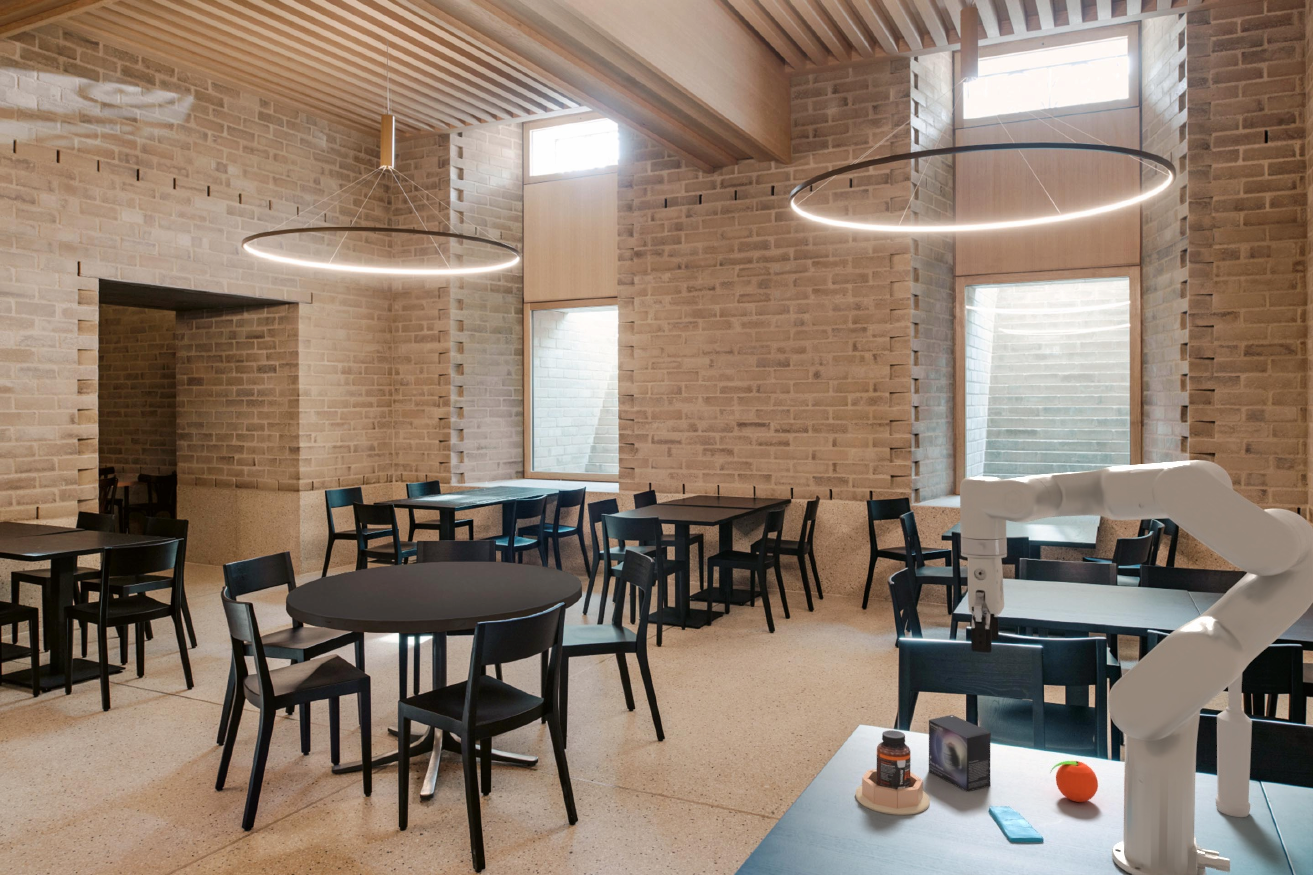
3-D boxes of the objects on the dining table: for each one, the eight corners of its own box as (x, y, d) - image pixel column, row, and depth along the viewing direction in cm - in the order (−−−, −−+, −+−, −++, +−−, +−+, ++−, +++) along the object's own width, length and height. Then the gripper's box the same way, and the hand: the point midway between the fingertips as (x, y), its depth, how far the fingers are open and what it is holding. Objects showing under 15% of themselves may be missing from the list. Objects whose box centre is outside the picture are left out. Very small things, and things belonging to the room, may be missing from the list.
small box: (925, 771, 176) (926, 718, 175) (951, 765, 178) (952, 713, 178) (965, 792, 166) (966, 736, 166) (992, 786, 169) (992, 730, 168)
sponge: (1021, 806, 158) (987, 802, 159) (1046, 839, 146) (1010, 834, 147) (1020, 815, 158) (986, 810, 159) (1045, 848, 147) (1009, 843, 147)
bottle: (1216, 813, 157) (1219, 671, 156) (1214, 802, 162) (1216, 664, 161) (1251, 820, 155) (1254, 675, 154) (1248, 808, 159) (1251, 668, 158)
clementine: (1053, 805, 160) (1053, 766, 160) (1046, 789, 167) (1046, 751, 167) (1101, 810, 158) (1102, 770, 158) (1092, 794, 165) (1093, 755, 165)
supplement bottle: (911, 803, 160) (911, 740, 159) (877, 800, 161) (877, 738, 160) (909, 789, 166) (909, 728, 165) (875, 787, 167) (876, 726, 166)
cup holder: (936, 792, 166) (936, 773, 166) (921, 820, 154) (921, 800, 154) (866, 778, 172) (866, 760, 172) (846, 805, 161) (847, 785, 160)
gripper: (1000, 555, 148) (1002, 658, 148) (1012, 542, 163) (1013, 636, 163) (953, 553, 151) (954, 654, 151) (968, 540, 167) (970, 632, 167)
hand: (985, 645), depth 157 cm, fingers open, 9 cm apart
